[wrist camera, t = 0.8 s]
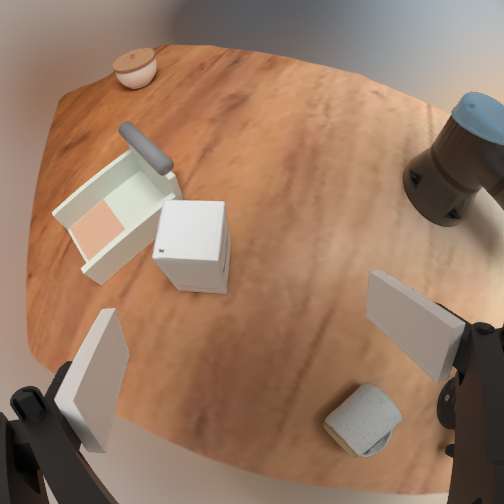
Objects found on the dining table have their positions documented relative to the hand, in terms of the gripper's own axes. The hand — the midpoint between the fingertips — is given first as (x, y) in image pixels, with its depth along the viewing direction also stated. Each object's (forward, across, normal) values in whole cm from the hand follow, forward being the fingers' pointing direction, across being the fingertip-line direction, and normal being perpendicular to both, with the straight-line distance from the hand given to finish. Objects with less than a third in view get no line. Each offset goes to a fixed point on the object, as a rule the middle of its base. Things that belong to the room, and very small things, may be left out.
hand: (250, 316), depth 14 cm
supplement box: (+28, -2, -7) cm, 29 cm away
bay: (+36, -15, +1) cm, 39 cm away
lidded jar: (+62, -14, +32) cm, 71 cm away
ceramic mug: (+10, +15, -26) cm, 32 cm away
